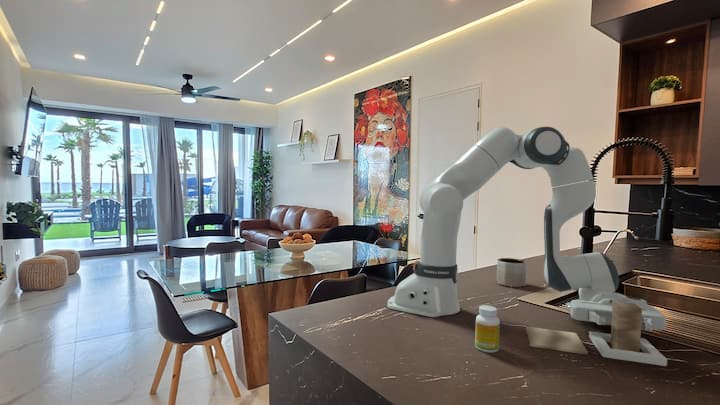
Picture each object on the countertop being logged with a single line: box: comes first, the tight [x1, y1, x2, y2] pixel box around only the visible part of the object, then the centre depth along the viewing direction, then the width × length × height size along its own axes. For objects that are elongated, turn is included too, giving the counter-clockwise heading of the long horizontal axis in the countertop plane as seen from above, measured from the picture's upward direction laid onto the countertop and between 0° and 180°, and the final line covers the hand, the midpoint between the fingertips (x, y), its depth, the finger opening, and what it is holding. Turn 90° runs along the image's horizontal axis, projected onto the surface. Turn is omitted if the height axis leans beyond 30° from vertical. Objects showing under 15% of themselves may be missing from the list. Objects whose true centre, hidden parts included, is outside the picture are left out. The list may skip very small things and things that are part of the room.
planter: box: [495, 257, 527, 288], centre depth 146 cm, size 11×11×10 cm
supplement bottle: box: [474, 304, 501, 354], centre depth 87 cm, size 5×5×10 cm
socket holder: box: [588, 330, 668, 367], centre depth 87 cm, size 12×12×2 cm
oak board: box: [525, 326, 589, 355], centre depth 92 cm, size 12×12×1 cm
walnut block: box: [610, 301, 642, 352], centre depth 87 cm, size 4×4×11 cm
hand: (625, 324), depth 88 cm, fingers open, 8 cm apart
